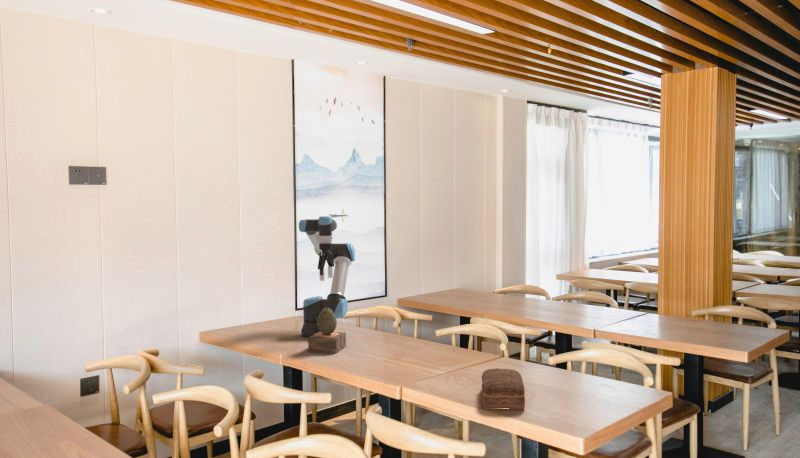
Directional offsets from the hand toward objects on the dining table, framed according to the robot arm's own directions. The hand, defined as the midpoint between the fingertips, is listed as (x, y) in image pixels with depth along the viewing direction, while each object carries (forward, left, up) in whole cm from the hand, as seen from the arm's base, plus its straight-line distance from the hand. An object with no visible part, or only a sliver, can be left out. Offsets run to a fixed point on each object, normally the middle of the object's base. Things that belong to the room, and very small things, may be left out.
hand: (326, 279), depth 373 cm
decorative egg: (+19, +7, -28) cm, 35 cm away
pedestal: (+19, +7, -37) cm, 42 cm away
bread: (+87, +109, -37) cm, 145 cm away
